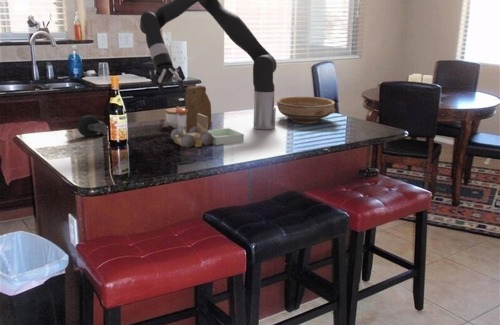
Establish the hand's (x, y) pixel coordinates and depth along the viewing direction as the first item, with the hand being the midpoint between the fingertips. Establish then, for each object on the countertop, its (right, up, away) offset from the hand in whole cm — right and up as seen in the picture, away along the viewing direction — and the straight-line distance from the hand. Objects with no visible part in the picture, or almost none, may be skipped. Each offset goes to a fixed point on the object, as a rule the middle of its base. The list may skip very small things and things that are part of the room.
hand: (172, 91), depth 209 cm
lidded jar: (-2, -13, +28) cm, 31 cm away
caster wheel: (-34, -18, +9) cm, 39 cm away
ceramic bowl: (+59, -9, +44) cm, 74 cm away
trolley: (+8, -21, -1) cm, 23 cm away
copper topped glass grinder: (+5, -19, -4) cm, 20 cm away
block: (+9, -15, +21) cm, 27 cm away
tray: (+20, -20, +4) cm, 29 cm away
